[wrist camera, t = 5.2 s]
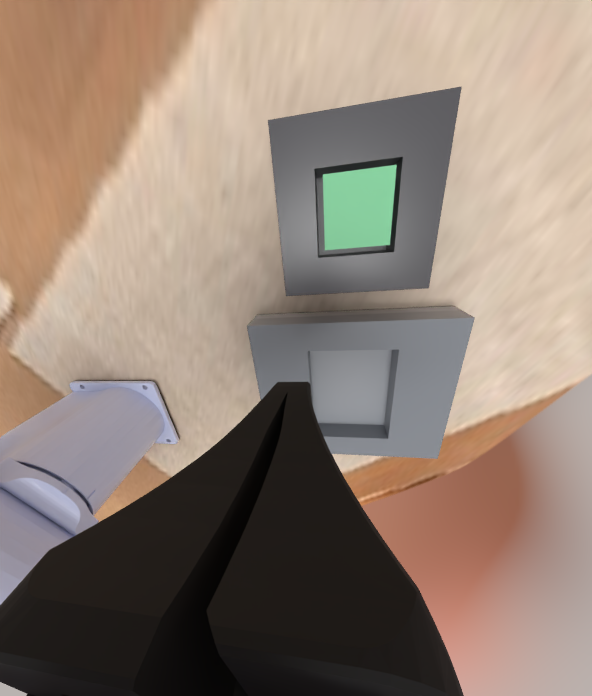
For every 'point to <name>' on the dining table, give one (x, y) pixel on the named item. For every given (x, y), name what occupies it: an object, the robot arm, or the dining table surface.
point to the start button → (358, 207)
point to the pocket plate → (369, 373)
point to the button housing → (355, 154)
